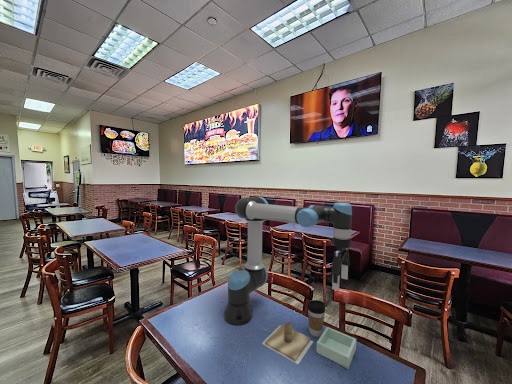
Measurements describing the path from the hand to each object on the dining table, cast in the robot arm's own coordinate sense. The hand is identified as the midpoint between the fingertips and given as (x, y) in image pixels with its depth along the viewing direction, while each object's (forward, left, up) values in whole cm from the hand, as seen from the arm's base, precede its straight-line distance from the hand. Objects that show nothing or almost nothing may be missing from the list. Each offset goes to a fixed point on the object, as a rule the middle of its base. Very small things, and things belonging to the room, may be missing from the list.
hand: (340, 283), depth 97 cm
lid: (-18, -14, -27) cm, 36 cm away
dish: (+1, -5, -28) cm, 29 cm away
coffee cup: (-11, 0, -28) cm, 30 cm away
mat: (-18, -14, -28) cm, 36 cm away
